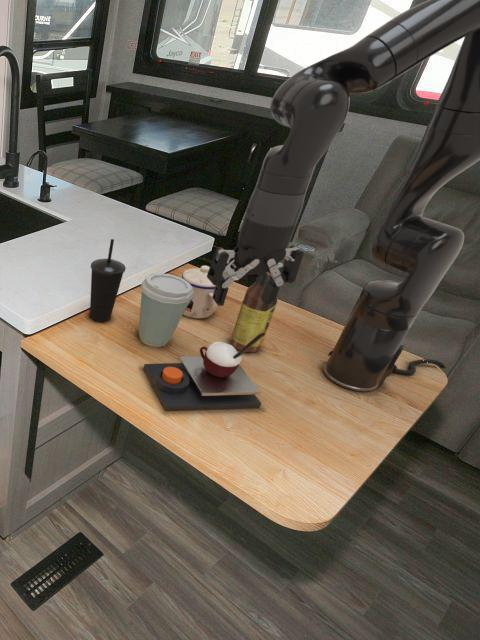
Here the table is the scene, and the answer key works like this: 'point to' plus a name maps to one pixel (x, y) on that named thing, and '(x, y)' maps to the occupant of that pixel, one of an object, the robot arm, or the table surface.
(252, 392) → the weighing plate
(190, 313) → the teacup with lid
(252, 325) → the sauce bottle
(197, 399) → the scale
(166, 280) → the disposable coffee cup
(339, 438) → the table surface
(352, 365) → the robot arm
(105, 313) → the drinking cup
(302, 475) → the table surface
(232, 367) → the cocoa
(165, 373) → the power button
